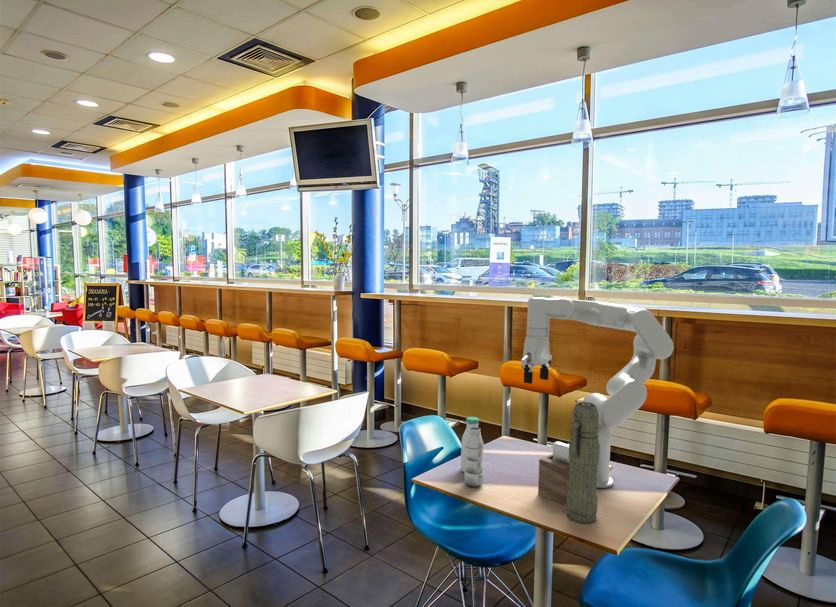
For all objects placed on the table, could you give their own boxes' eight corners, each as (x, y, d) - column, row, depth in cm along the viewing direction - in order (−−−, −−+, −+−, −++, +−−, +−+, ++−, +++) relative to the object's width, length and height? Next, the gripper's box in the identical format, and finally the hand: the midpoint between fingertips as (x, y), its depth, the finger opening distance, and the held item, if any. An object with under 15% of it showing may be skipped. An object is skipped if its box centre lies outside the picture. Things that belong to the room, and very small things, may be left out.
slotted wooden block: (554, 486, 178) (555, 452, 177) (580, 495, 171) (582, 460, 170) (538, 494, 171) (539, 459, 170) (564, 504, 164) (566, 468, 163)
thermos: (558, 518, 154) (563, 404, 152) (576, 505, 163) (580, 398, 161) (586, 528, 148) (591, 410, 146) (603, 515, 157) (608, 403, 155)
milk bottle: (476, 476, 185) (478, 422, 184) (457, 472, 189) (458, 419, 187) (484, 469, 192) (486, 417, 190) (465, 465, 195) (467, 414, 194)
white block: (556, 470, 173) (557, 441, 172) (572, 475, 169) (573, 445, 168) (552, 472, 171) (553, 442, 171) (568, 477, 167) (569, 447, 166)
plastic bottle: (482, 489, 174) (484, 432, 172) (462, 487, 175) (464, 430, 174) (483, 482, 180) (485, 426, 179) (464, 480, 181) (466, 425, 180)
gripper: (542, 330, 186) (541, 376, 187) (514, 333, 174) (512, 382, 176) (560, 332, 181) (559, 379, 182) (532, 335, 169) (530, 386, 170)
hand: (536, 381), depth 179 cm, fingers open, 9 cm apart
